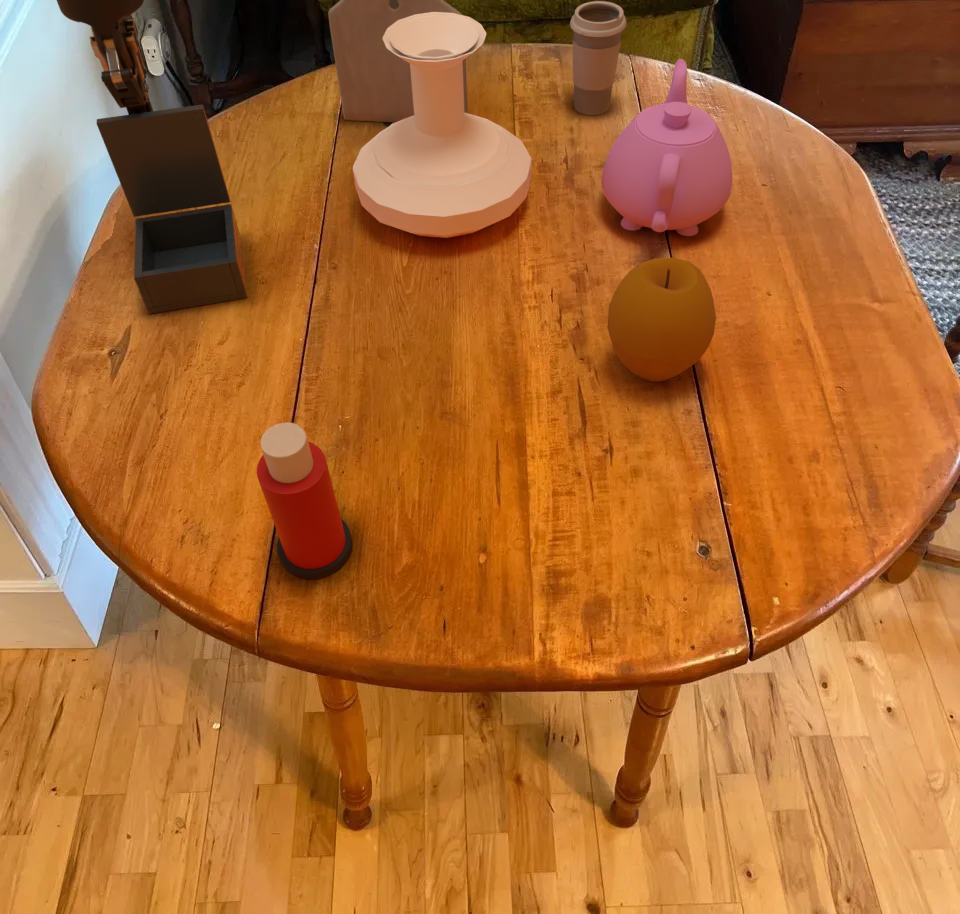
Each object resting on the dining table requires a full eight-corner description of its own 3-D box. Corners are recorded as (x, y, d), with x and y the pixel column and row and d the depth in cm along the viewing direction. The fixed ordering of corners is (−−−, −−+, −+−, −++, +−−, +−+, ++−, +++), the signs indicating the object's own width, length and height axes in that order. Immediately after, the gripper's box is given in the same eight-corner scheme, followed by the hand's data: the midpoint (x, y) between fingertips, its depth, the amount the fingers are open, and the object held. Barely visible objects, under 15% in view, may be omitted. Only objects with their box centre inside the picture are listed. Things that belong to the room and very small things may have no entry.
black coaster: (282, 586, 69) (280, 580, 68) (276, 526, 73) (273, 519, 72) (357, 570, 70) (355, 564, 69) (347, 511, 74) (345, 504, 73)
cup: (597, 125, 111) (605, 30, 102) (554, 109, 114) (559, 15, 104) (628, 102, 114) (638, 8, 105) (585, 87, 117) (592, -6, 108)
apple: (630, 318, 88) (645, 220, 79) (720, 353, 85) (746, 255, 76) (584, 377, 83) (593, 280, 74) (677, 417, 80) (699, 320, 70)
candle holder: (355, 261, 95) (327, 92, 80) (361, 159, 107) (338, -4, 92) (538, 252, 95) (545, 82, 80) (523, 151, 108) (526, -13, 93)
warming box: (247, 298, 91) (236, 261, 88) (149, 314, 90) (133, 277, 86) (241, 240, 98) (231, 203, 94) (149, 255, 96) (135, 218, 93)
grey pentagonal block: (475, 94, 116) (471, -64, 101) (467, 126, 112) (461, -35, 96) (356, 89, 118) (334, -68, 103) (343, 120, 113) (318, -40, 98)
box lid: (203, 108, 85) (202, 104, 85) (96, 123, 83) (96, 118, 84) (230, 202, 93) (230, 197, 94) (133, 217, 92) (133, 212, 92)
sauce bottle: (271, 551, 70) (231, 449, 60) (310, 508, 73) (278, 402, 63) (319, 579, 68) (287, 478, 58) (358, 533, 71) (333, 429, 61)
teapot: (609, 152, 107) (619, 51, 97) (726, 163, 105) (749, 61, 95) (589, 253, 95) (599, 149, 85) (722, 267, 93) (747, 162, 83)
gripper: (46, -72, 80) (112, 106, 93) (34, -12, 72) (108, 174, 85) (130, -82, 81) (183, 96, 94) (127, -23, 73) (186, 162, 86)
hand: (148, 133), depth 90 cm, fingers closed
